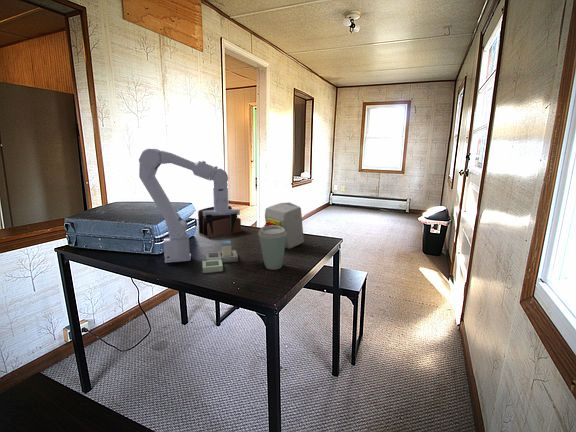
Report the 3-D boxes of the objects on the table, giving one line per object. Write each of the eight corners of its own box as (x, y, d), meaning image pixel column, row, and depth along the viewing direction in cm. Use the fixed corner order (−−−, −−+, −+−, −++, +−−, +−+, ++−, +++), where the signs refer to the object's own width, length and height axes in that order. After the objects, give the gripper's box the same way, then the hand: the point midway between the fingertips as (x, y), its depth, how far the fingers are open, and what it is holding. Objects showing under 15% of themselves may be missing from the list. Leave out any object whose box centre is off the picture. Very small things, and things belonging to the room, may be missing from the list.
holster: (202, 273, 106) (202, 267, 106) (202, 265, 113) (202, 261, 112) (222, 271, 108) (222, 265, 108) (221, 264, 115) (221, 259, 114)
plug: (222, 261, 118) (222, 244, 116) (222, 258, 121) (221, 241, 120) (231, 260, 119) (231, 243, 117) (230, 257, 122) (230, 240, 121)
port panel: (206, 264, 114) (206, 258, 114) (206, 257, 122) (205, 251, 121) (237, 261, 118) (237, 255, 117) (235, 254, 125) (235, 249, 125)
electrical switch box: (260, 248, 140) (254, 208, 134) (284, 238, 149) (279, 200, 143) (280, 256, 130) (275, 213, 124) (304, 245, 139) (300, 204, 133)
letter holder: (198, 234, 155) (197, 208, 152) (231, 228, 168) (230, 204, 165) (207, 239, 147) (206, 211, 144) (241, 232, 161) (241, 206, 158)
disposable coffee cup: (292, 268, 111) (292, 229, 108) (265, 274, 106) (265, 233, 102) (278, 259, 120) (278, 223, 117) (254, 264, 115) (253, 226, 111)
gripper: (202, 201, 113) (203, 236, 116) (240, 200, 117) (241, 233, 120) (202, 198, 120) (203, 231, 123) (238, 198, 124) (239, 229, 127)
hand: (222, 232), depth 122 cm, fingers open, 7 cm apart
